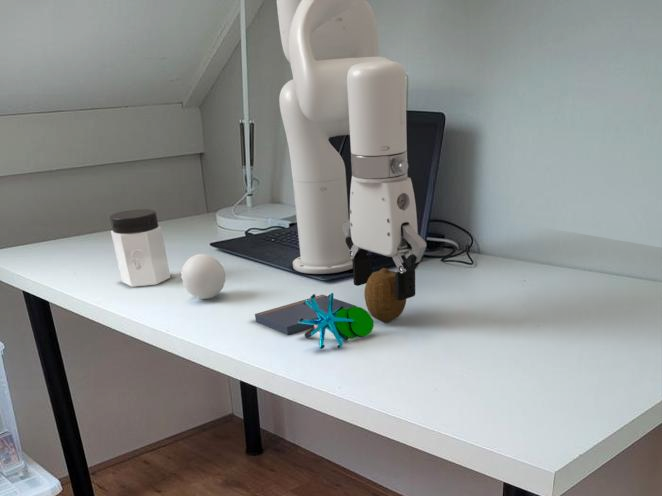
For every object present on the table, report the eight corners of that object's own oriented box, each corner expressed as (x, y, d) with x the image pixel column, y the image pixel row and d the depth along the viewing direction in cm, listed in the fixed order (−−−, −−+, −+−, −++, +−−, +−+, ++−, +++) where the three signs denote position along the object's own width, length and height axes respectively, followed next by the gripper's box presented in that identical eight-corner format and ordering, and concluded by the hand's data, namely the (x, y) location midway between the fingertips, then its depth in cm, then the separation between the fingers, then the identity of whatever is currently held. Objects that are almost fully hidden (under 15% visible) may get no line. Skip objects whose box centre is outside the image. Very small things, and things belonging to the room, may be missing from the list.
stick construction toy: (312, 342, 99) (301, 287, 100) (286, 360, 105) (277, 308, 106) (383, 345, 106) (373, 293, 107) (356, 362, 112) (346, 313, 113)
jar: (119, 288, 136) (103, 220, 130) (125, 276, 143) (110, 211, 137) (168, 284, 137) (155, 216, 131) (172, 272, 144) (160, 207, 138)
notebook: (323, 301, 122) (322, 294, 122) (357, 313, 116) (356, 305, 116) (255, 321, 116) (254, 313, 115) (287, 334, 110) (286, 326, 109)
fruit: (368, 315, 115) (365, 262, 111) (409, 314, 114) (407, 261, 110) (363, 329, 110) (359, 274, 106) (405, 328, 109) (403, 273, 105)
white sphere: (237, 294, 129) (231, 251, 125) (207, 307, 124) (199, 262, 120) (196, 287, 134) (189, 245, 130) (165, 299, 129) (157, 256, 125)
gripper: (444, 169, 97) (443, 297, 106) (361, 156, 109) (366, 272, 118) (400, 178, 93) (403, 311, 103) (319, 164, 105) (328, 284, 114)
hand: (383, 290), depth 110 cm, fingers open, 9 cm apart
